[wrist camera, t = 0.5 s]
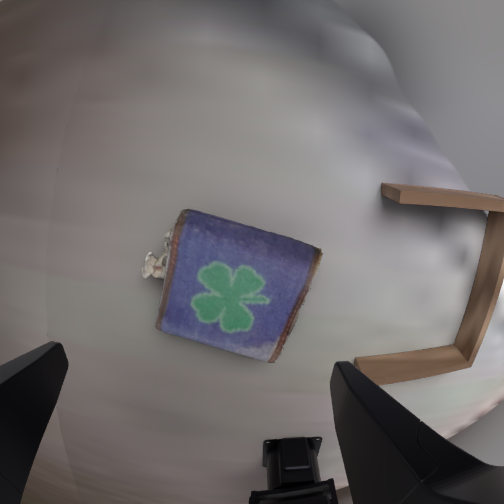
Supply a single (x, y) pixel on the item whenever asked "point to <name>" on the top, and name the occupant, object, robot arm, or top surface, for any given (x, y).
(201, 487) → the top surface
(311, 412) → the top surface
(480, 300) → the frame
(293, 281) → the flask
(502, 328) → the top surface
